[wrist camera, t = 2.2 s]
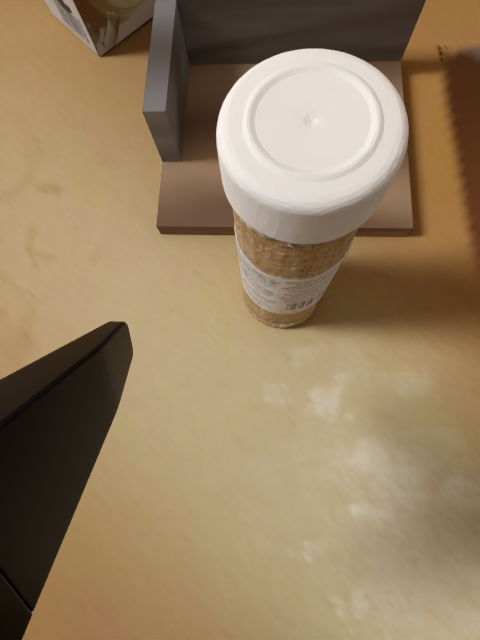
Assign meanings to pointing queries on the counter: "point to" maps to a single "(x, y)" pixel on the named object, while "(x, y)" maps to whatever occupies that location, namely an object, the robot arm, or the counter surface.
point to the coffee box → (102, 19)
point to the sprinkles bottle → (305, 171)
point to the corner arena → (229, 66)
